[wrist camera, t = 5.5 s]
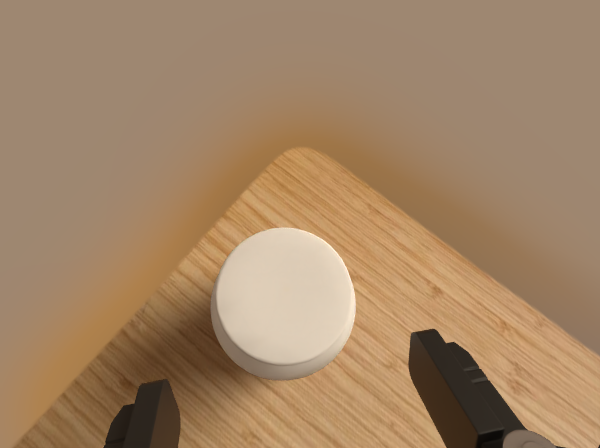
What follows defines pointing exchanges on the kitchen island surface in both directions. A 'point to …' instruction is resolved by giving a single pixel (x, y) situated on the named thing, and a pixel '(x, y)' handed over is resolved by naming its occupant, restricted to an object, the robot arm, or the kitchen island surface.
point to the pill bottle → (283, 304)
